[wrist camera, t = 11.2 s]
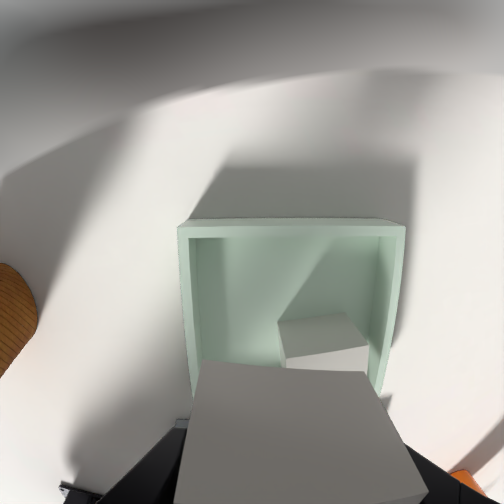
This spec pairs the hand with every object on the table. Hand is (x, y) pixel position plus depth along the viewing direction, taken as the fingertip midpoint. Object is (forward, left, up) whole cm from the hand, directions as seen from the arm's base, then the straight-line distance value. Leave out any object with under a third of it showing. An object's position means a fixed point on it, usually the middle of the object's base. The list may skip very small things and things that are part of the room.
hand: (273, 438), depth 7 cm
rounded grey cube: (-3, -3, -11) cm, 12 cm away
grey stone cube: (0, 0, -1) cm, 0 cm away
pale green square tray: (-1, -2, -11) cm, 12 cm away
